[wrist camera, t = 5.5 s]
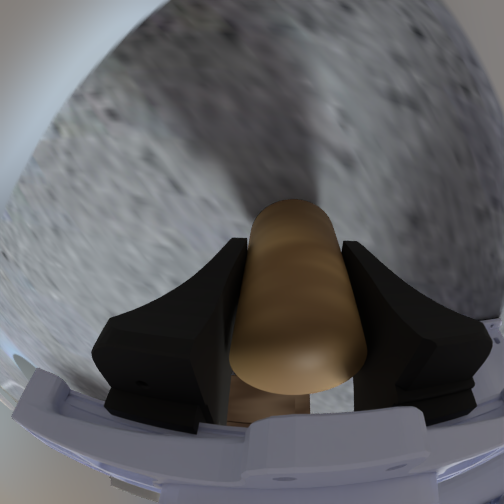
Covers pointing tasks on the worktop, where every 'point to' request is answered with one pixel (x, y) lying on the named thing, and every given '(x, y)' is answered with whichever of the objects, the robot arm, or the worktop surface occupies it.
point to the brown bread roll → (296, 305)
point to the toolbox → (261, 403)
